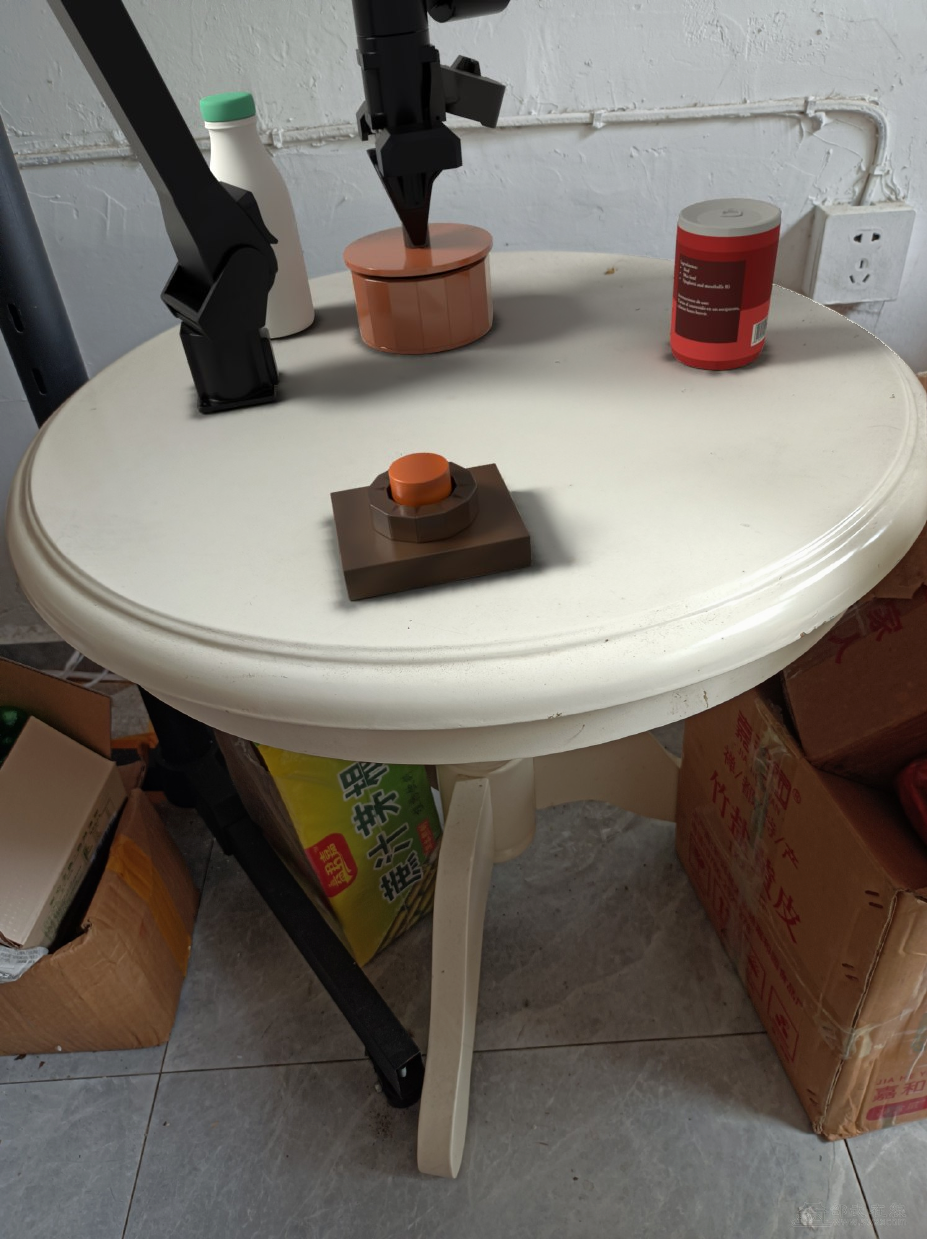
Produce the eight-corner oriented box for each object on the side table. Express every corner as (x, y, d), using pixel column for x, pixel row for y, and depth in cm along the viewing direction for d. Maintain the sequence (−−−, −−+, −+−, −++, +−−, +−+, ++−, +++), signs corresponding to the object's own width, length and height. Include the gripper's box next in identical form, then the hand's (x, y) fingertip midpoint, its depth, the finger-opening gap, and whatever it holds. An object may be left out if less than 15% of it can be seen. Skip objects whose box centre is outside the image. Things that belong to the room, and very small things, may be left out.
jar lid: (352, 293, 72) (341, 228, 69) (338, 249, 83) (328, 190, 80) (509, 269, 74) (506, 203, 71) (476, 228, 84) (471, 169, 81)
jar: (369, 363, 77) (357, 290, 73) (354, 315, 87) (343, 249, 83) (506, 340, 78) (502, 268, 74) (476, 296, 88) (471, 230, 84)
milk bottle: (324, 329, 84) (278, 93, 72) (246, 347, 83) (185, 108, 70) (306, 306, 90) (260, 83, 77) (233, 322, 88) (174, 97, 76)
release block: (349, 601, 50) (336, 544, 48) (335, 520, 57) (324, 467, 54) (532, 565, 51) (529, 508, 49) (497, 491, 58) (493, 437, 56)
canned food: (747, 329, 75) (764, 193, 68) (776, 366, 69) (798, 221, 62) (659, 338, 75) (667, 203, 69) (680, 376, 69) (691, 232, 62)
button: (396, 513, 50) (392, 487, 49) (388, 483, 53) (384, 458, 52) (457, 502, 51) (454, 476, 50) (445, 472, 53) (442, 447, 52)
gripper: (522, 29, 61) (530, 257, 71) (468, 11, 75) (481, 203, 85) (367, 49, 60) (397, 277, 70) (342, 27, 74) (370, 220, 84)
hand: (416, 240), depth 77 cm, fingers closed on jar lid, 2 cm apart
